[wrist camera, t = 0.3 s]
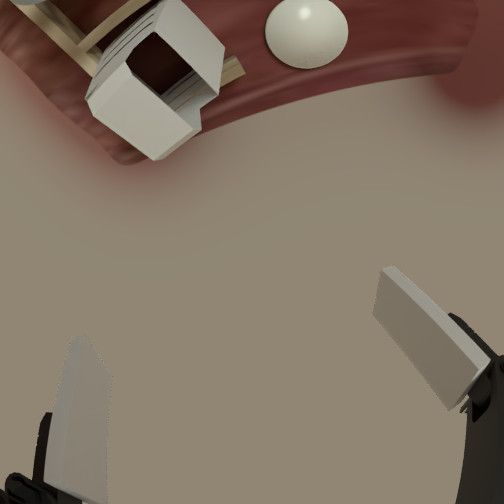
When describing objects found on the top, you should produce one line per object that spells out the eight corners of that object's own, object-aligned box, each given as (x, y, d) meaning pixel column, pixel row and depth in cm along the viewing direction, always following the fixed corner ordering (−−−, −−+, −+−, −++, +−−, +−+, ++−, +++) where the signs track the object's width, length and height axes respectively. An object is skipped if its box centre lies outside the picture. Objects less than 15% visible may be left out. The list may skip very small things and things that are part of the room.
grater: (160, 95, 32) (147, 202, 21) (105, 48, 24) (39, 132, 13) (224, 47, 28) (258, 124, 17) (171, -9, 20) (149, 8, 9)
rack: (18, -12, 11) (1, -8, 9) (110, -93, 7) (100, -99, 5) (152, 118, 34) (149, 132, 32) (240, 63, 30) (245, 73, 28)
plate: (249, 14, 24) (250, 14, 24) (329, -16, 21) (331, -15, 21) (286, 78, 33) (287, 80, 33) (355, 51, 30) (357, 52, 30)
